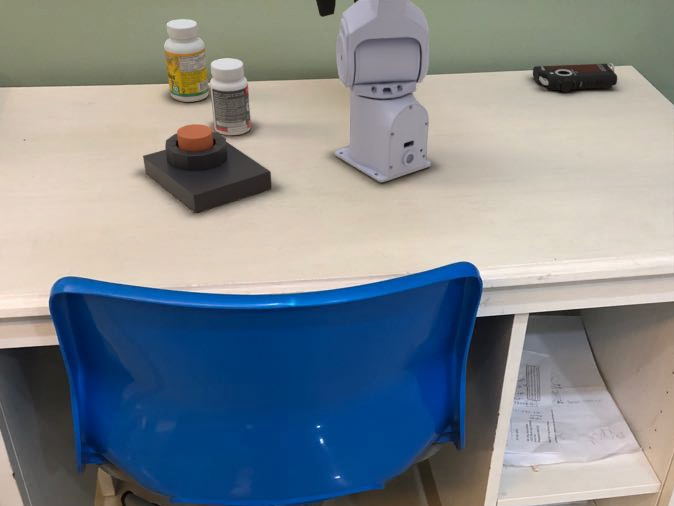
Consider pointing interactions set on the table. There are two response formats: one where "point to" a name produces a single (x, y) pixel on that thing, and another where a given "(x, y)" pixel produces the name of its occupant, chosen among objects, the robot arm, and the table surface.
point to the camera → (576, 76)
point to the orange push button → (195, 137)
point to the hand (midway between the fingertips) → (344, 22)
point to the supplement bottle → (186, 61)
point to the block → (207, 173)
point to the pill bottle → (229, 97)
